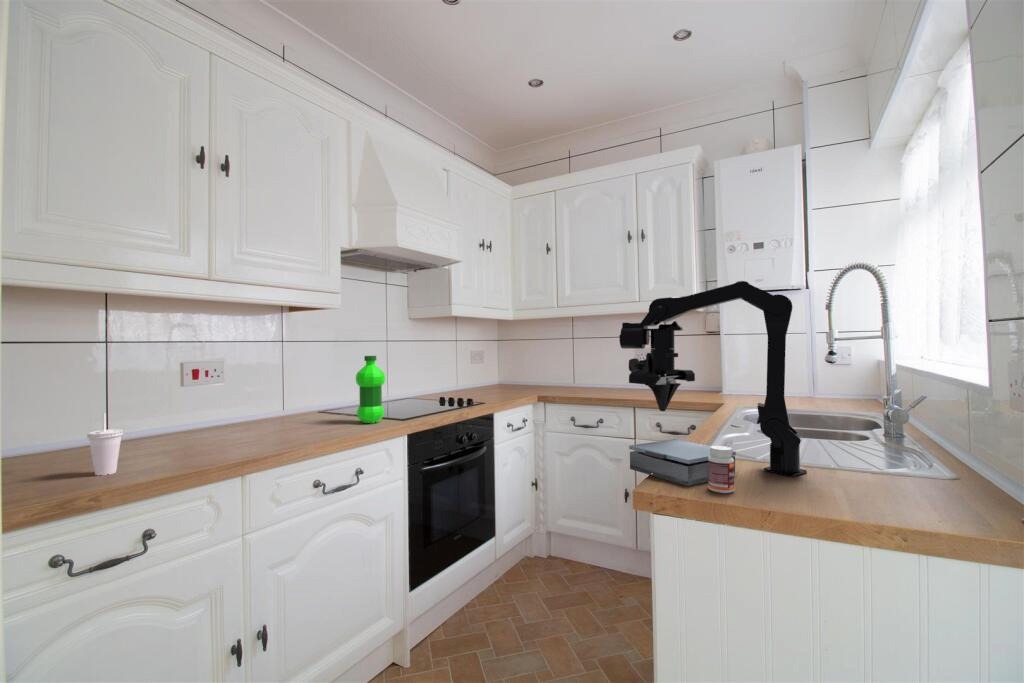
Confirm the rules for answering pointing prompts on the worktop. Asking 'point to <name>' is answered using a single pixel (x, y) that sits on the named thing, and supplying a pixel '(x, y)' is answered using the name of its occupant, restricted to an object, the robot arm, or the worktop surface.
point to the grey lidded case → (671, 468)
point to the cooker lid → (676, 450)
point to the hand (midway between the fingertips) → (662, 411)
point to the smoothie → (105, 449)
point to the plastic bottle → (370, 391)
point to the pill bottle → (721, 469)
